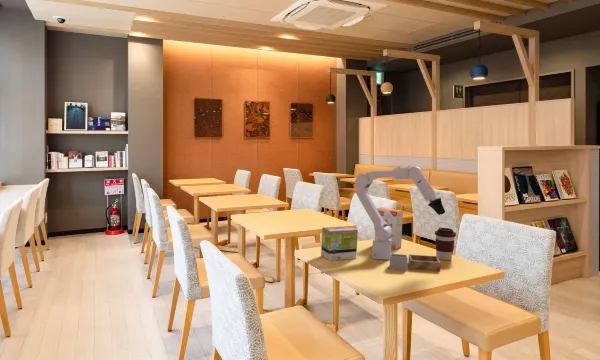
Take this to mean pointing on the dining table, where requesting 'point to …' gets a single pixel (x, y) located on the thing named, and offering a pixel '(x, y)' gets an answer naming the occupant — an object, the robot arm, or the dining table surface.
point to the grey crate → (398, 261)
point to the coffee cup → (444, 243)
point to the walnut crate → (424, 262)
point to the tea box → (339, 243)
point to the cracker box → (393, 224)
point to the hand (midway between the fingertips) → (442, 213)
